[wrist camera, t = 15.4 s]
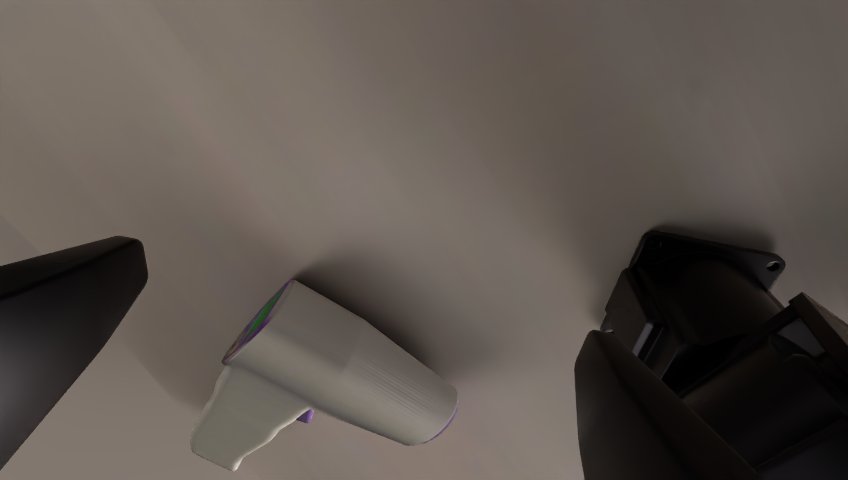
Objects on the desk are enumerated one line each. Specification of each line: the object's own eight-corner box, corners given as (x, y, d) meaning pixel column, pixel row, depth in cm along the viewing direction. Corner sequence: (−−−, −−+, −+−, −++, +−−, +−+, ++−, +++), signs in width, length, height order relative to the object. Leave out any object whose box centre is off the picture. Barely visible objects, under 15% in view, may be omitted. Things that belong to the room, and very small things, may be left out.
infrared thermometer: (204, 397, 33) (283, 259, 25) (353, 471, 35) (468, 365, 27) (164, 457, 29) (242, 316, 21) (334, 535, 31) (462, 435, 23)
